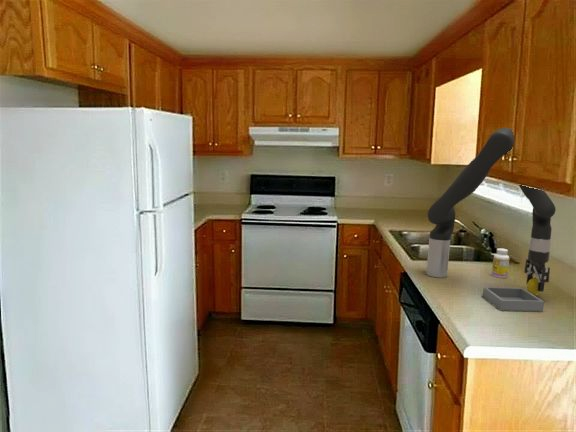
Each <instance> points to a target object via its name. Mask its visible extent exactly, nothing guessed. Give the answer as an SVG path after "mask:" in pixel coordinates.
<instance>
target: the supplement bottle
mask: <svg viewBox="0 0 576 432" xmlns="http://www.w3.org/2000/svg"><path fill="white" fill-rule="evenodd" d="M508 252H509V250H508V249H506V248H503V247H502V248H501V247H500V248H497V249H496V253H495V254H494V255H493V263H492V270H491V275H492V277H494V278H497V279H498V278H499V279H505V278H507V277H508V273H509V272H508V271H509V263H510V256H509V254H508Z"/></svg>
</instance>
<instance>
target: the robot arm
mask: <svg viewBox="0 0 576 432" xmlns="http://www.w3.org/2000/svg"><path fill="white" fill-rule="evenodd" d="M512 130H513V129H511V128H510V127H502V128H499V129H497V130H496V131H495V132H493V133H491V135H490V136H489V138H488V140H486V142H485V144H484V146H483V147H482V148H481V150H480V151H479V153H478V154H477V155H476V156H475V158H473V159H472V160H471V161H470V162H469V163H468V164H467V165H466V166H465V167H464V169H463V170H461V172H460V173H459V174H458V176H456V177H455V179H454V181H453V182H452V183H451V184H450V186H449V187H448V188H447V189H446V190H445V192H444V193H443V194H442V195H441V196H440V197H439V198H438V199H437V200H436V201H435V202H434V203H433V204H432V205H431V206H430V207H429V209H428V211H427V219H428V221H429V223H431V224H433V225H435V226H434V228H433V229H432V230H430V232H429V240H428V249H427V251H428V252H427V259H426V271H425V272H426V273H425V274H426V276H430V277H431V278H432V277H433V278H441V279H442V278H447V277H448V270H449V269H448V268H449V260H450V259H449V258H450V247H451V239H452V235H453V234H454V233H453V232H454V229H455V222H456V209H455V206H456V205H457V204H459V203H460V202H462V201H463V200H465V199H466V198H468V197H469V196H470V195H472V194H473V193H474V192H475V191H476V190H477V189H479V186H481V184H482V183H483V182H484V181H485V179H486V177H487V175H488V174H489V172H490V170H492V168H493V166H494V165H495V164H496V163H497V162H498V161H499V160H500V159H501V158H502V157H504V156H505V157H506V154H507V152H508V151H510V150H511V149H512V147H513V145H514V135H513V132H512ZM518 186H519V189H520V190H521V191H522V193H523V195H524V196H525V197H526V198H527V200H528V201H529V202H530V204H531V206H532V228H531V232H530V233H531V234H530V239H529V245H528V253H527V258H526V259H525V265H524V271H523V272H524V273H525V274H526V283H525V284H526V285H527V283H528V281H529V280H530V279H532V278H534V275H535V276H536V278H537V279H538V281H539V282H538V288H537V291H539V292H540V293H542V292H544V289H545V283H549V281H550V267H548V266H546V263H549V260H550V252H551V245H552V244H551V239H552V230H553V229H552V225H551V221H552V217H553V216H554V215H555V213H556V205H555V203H554V202H553V201H552V199H551V198H550V196H549V195H548V194H547V193H546V191H545V190H544V191H542V190H538V189H534V188H529V187H526V186H522V185H518Z"/></svg>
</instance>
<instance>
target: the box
mask: <svg viewBox="0 0 576 432" xmlns="http://www.w3.org/2000/svg"><path fill="white" fill-rule="evenodd" d="M481 297H482V298H483V299H484V300H486V301H488V302H489V303H490V304H491V305H493V307H495V308H496V309H498V310H499V311H500V312H529V313H531V312H535V313H536V312H537V313H539V312H540V313H543V312H544V306H545V301H544V300H542V299H541V298H539V297H537V295H535V296H534V295H533V294H531V293H530V292H528V291H527V289H525V288H523V287H500V286H499V287H497V286H496V287H495V286H483V288H482V296H481Z"/></svg>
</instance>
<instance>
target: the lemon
mask: <svg viewBox="0 0 576 432" xmlns="http://www.w3.org/2000/svg"><path fill="white" fill-rule="evenodd" d="M538 282H539V281H538V278H537V277H535V276H534V277H533V278H532V279H530V280H529V281H528V283H527V282H526V283H527V284H526V291H528V292H530V293H531V294H533V295H534V296H538V295H540V294H541V292H539V291H537V288H538Z"/></svg>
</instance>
